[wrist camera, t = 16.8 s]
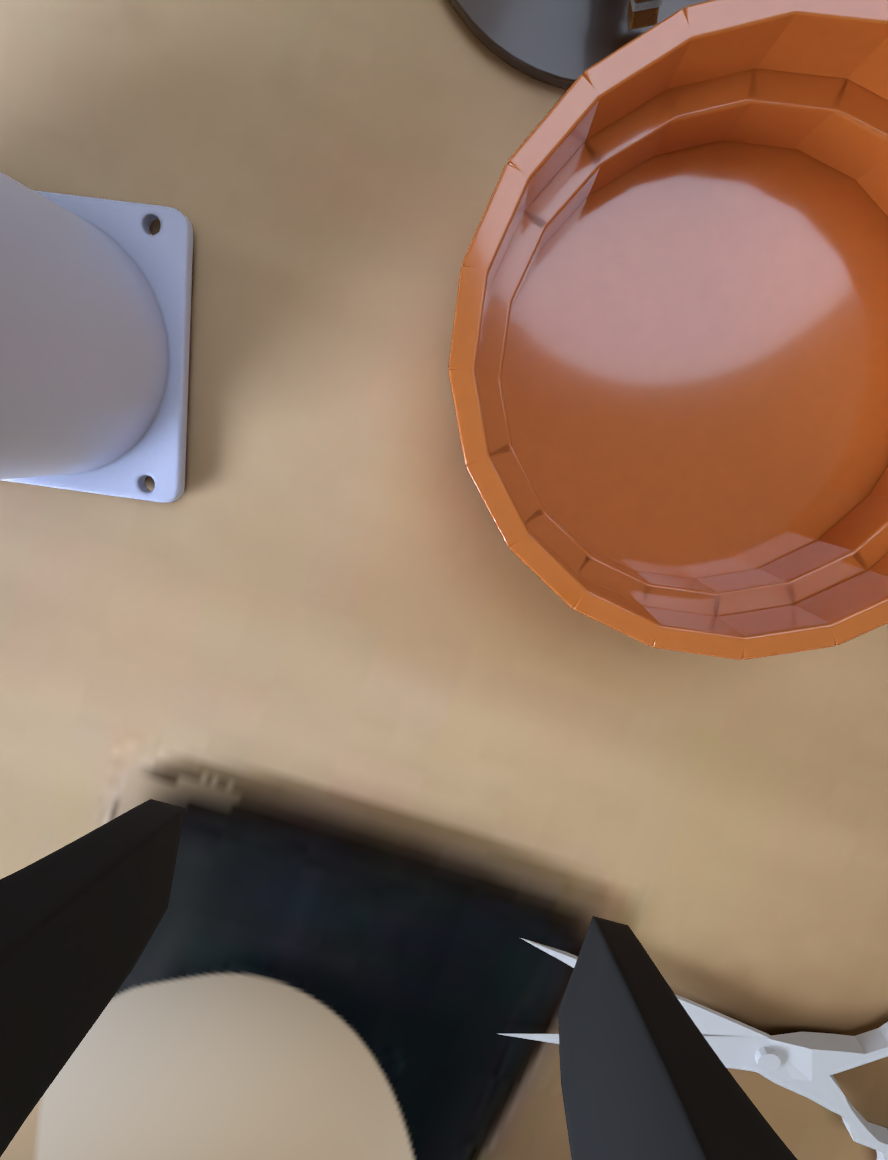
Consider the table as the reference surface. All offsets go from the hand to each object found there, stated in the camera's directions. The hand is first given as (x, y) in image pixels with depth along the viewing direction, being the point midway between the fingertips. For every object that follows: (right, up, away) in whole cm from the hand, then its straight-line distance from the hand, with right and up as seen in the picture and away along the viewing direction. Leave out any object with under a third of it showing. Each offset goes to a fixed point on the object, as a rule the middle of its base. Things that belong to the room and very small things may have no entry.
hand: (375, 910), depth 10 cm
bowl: (+8, +11, +7) cm, 16 cm away
